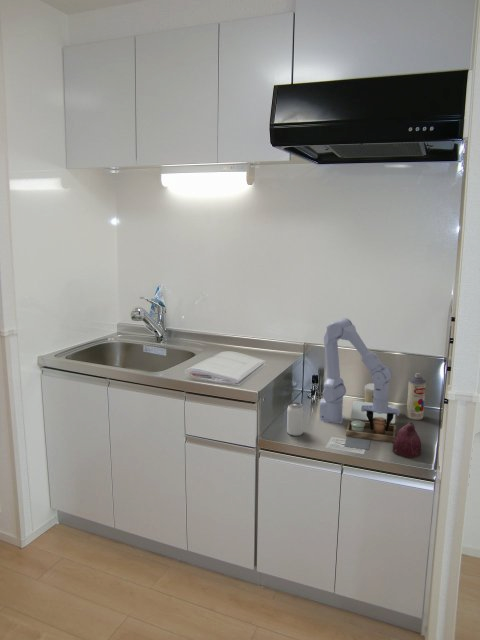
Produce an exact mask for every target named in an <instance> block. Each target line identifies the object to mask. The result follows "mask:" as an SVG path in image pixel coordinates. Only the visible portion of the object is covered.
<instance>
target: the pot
mask: <svg viewBox="0 0 480 640" xmlns="http://www.w3.org/2000/svg"><path fill="white" fill-rule="evenodd" d="M373 423H374V429H373V432H374V433H375V434H381V435H383V434H385V424H386V419H385V418H382V417H375V418H373Z"/></svg>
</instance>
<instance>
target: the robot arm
mask: <svg viewBox="0 0 480 640" xmlns="http://www.w3.org/2000/svg"><path fill="white" fill-rule="evenodd" d="M339 340H345V341H348V342H349V343H350V344H351V345H352V346H353V347H354V348H355V349H356V351H357V352H358V353H359V354H360V356H361V362H362V363H363V364H364V366H365V367H366V369H367V370H368V371H369V373H370V374H371V380H372V383H374V396H373V405H362V407H361V411H362V412H364V411H367V413H366V415H367V417H368V420H369V421H368V422H370V426H371V430H373V423H374V422H373V412H376V413H378V414H382V413H385V414H387V423H385V424H386V432H387V430H388V427H389V425H391V424H390V422H391V421H392V419H393V416H394V415H395V416H399V417H400V409H399V408H396V409H394V408H390V407H388V405H389V394H390V380H392V378H393V373H392V372H393V371H392V370H391V368H390V367H388V366H385V364H383V363H382V362H381V360H380V359H379V356H378V354H377V353H375V352H374V351H370V350H369V349H368V347H367V346H366V344H365V343H364V341H363V339H362V338H361V336H360V334H359V333H358V332H357V329H356V326H355V324H353V322H352V320H351V319H349V318H345V317H343V318H342V319H340V320H336V321H332V322H331V323H329V324H328V325H327V326H326V331H325V334H324V335H323V343H324V356H325V359H324V360H325V367H326V368H325V371H326V379H325V382H324V384H323V390H322V398H320V402H319V422H326V423H334V424H342V423H343V421H344V417H345V416H344V415H343V408H344V407H343V404H344V403H343V401H344V396H345V395H346V394H347V388H346V386H345V383H344V382H345V381H344V380H343V379H342V378H341V372H340V371H341V370H340V359H339V345H338V343H339V342H338V341H339Z"/></svg>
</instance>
